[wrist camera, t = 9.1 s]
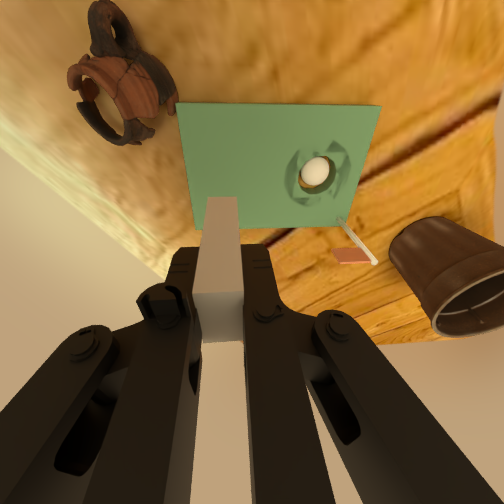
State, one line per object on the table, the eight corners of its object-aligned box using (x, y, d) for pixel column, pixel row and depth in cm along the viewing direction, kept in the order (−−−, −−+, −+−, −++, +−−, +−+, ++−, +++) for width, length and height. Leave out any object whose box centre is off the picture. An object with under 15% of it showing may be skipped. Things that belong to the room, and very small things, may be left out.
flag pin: (308, 210, 38) (341, 261, 26) (335, 209, 38) (379, 260, 27) (307, 214, 38) (339, 266, 27) (334, 213, 38) (376, 265, 27)
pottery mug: (189, 134, 30) (148, 162, 25) (134, 119, 32) (86, 142, 27) (169, 1, 21) (97, 4, 16) (92, -10, 22) (7, -10, 18)
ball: (296, 167, 34) (303, 149, 30) (321, 167, 34) (331, 149, 30) (298, 190, 33) (306, 175, 29) (324, 190, 33) (335, 174, 29)
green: (197, 222, 37) (195, 229, 35) (179, 102, 27) (175, 103, 25) (338, 219, 39) (344, 226, 37) (371, 104, 29) (381, 106, 27)
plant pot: (381, 282, 50) (432, 349, 38) (371, 230, 41) (434, 295, 29) (458, 254, 47) (544, 317, 34) (465, 190, 38) (586, 243, 25)
